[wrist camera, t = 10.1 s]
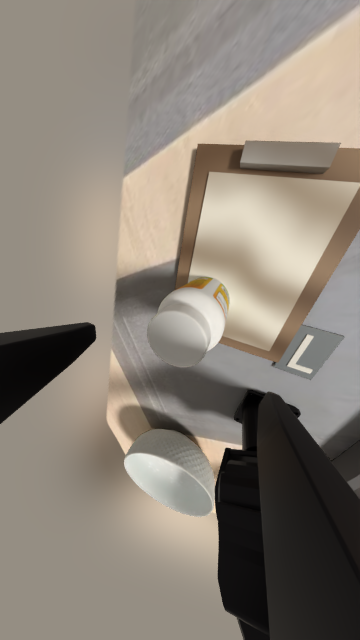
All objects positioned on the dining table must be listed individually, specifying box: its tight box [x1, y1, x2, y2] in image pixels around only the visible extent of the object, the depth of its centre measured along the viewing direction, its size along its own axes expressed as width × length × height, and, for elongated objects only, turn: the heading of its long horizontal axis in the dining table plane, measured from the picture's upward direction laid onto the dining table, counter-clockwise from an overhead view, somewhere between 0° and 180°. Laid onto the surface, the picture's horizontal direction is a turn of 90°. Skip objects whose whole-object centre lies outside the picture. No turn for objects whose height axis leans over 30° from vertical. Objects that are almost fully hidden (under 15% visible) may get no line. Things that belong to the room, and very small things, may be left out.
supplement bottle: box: [147, 277, 230, 367], centre depth 14 cm, size 5×5×10 cm
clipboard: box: [175, 141, 360, 363], centre depth 15 cm, size 18×14×2 cm
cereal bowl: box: [124, 429, 215, 517], centre depth 29 cm, size 17×17×7 cm
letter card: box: [274, 325, 344, 380], centre depth 17 cm, size 6×4×1 cm, turn 169°
